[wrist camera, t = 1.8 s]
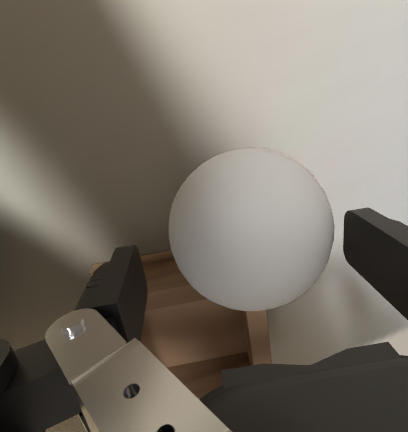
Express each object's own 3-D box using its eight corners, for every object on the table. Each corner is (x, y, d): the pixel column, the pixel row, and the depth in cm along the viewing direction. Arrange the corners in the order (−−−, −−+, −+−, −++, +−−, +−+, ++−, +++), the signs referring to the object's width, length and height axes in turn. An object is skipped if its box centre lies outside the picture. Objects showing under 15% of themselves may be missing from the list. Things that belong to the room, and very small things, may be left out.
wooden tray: (93, 264, 20) (74, 301, 17) (250, 235, 21) (266, 265, 17) (133, 377, 25) (125, 427, 21) (263, 352, 25) (279, 397, 21)
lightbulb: (205, 105, 17) (247, 120, 7) (286, 160, 19) (415, 237, 9) (153, 192, 19) (127, 305, 9) (232, 236, 21) (286, 374, 10)
